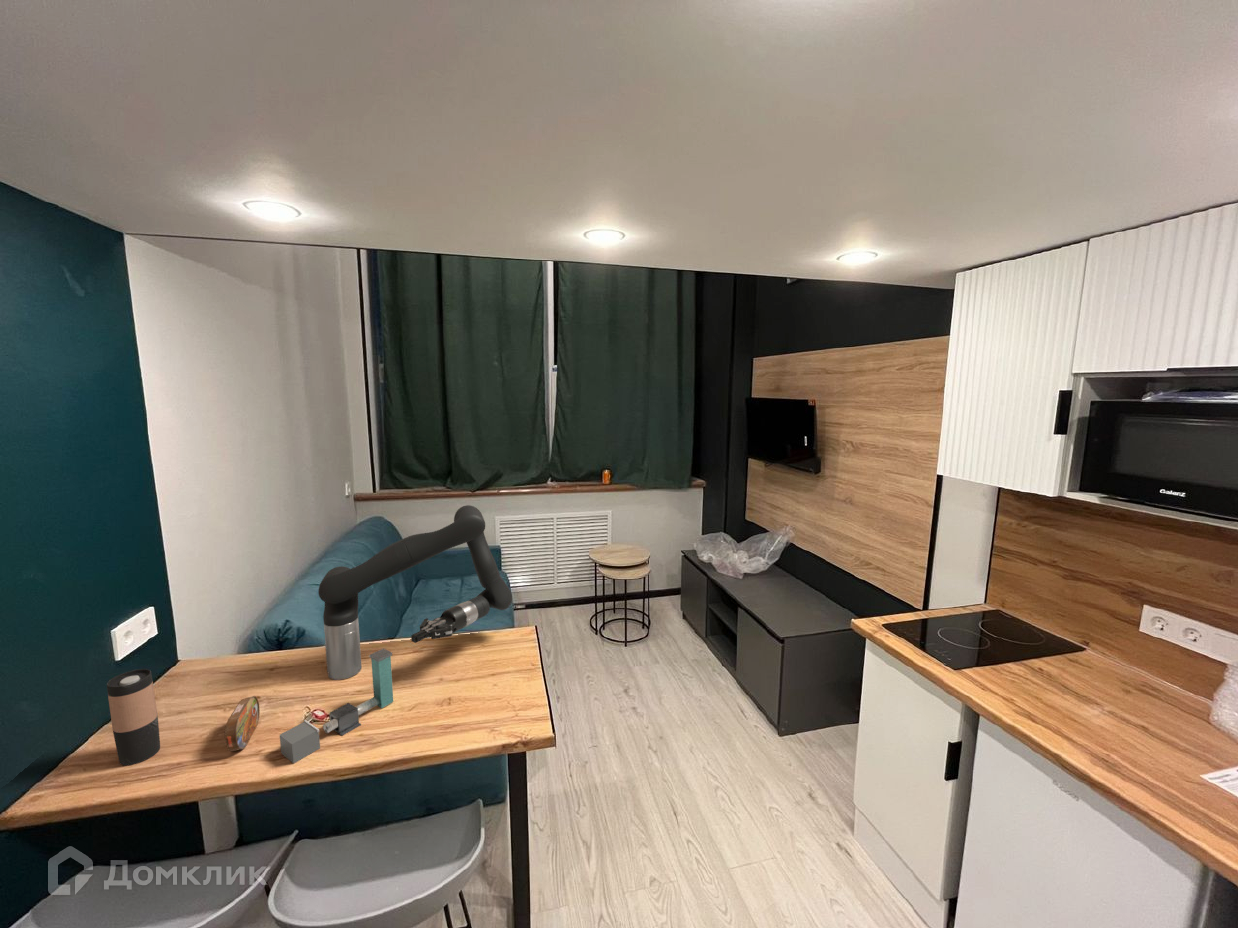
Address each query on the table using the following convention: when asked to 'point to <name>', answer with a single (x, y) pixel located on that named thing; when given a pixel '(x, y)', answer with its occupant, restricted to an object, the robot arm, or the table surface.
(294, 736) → the socket
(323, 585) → the robot arm
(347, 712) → the sleeve
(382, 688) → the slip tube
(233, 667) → the table surface
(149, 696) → the travel mug
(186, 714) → the table surface
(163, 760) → the table surface
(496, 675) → the table surface
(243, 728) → the tin
